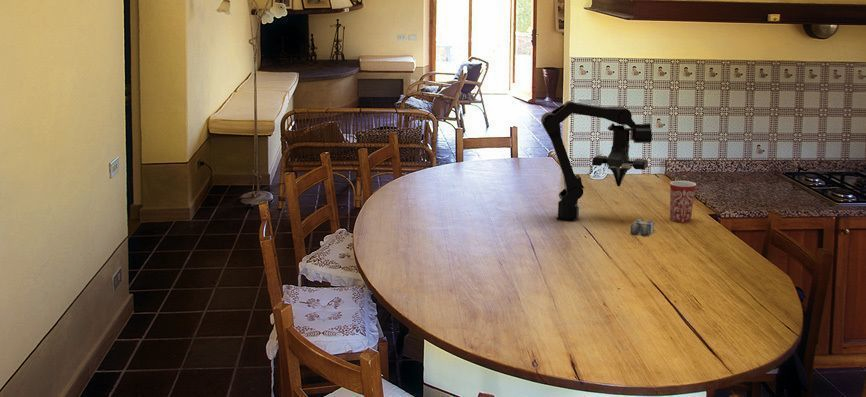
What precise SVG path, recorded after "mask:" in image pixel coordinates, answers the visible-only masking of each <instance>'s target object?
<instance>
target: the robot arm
mask: <svg viewBox="0 0 866 397" xmlns="http://www.w3.org/2000/svg"><path fill="white" fill-rule="evenodd" d="M572 114H573V115H574V114H575V115H582V116H587V117H593V118H598V119H605V120H607V121H610V122H612V123H611V124H610V125H609V126H608V127H607V130H609V131H611V132H612V146H611V148H610V150H611V151H610V153H609V154H608V156H607V155H599V154H598V155H596V156H594V157H593V158H592V160H591V163H592V164H591V166H598V167H601V166H602V165H603V164H605V165H606V164H607V166H608V167H607V169H608V170H610V171H611V172H612V174H613V176H614V179H615V183H616V186H617V187H621V185H622V183H623V181H624V178H625V175H626V174H627V173H628V171H629V170H631V169H632V168H633V169H635V170H641V171H642V170H646V169H647V168H648V165H649V161H648V159H646V158H636V159H634V160H629V159H630V155H629V152H630V151H629V150H630V146H631V145H630V140H631V141H633V144H650V143H651V142H652V140H653V133H652V129H651V128H652V127H651V124H650V123H636V122H635V121H634V120H633V117H632V116H633V115H632V113H631V111H630V110H629V109H628V108H626V107H625V106H608V107H607V106H599V105H595V104H594V105H592V104H587V103H580V102H574V101H572V100H567V101H566V102H565V103H564V104H562V105H560V106H559V107H556V108H555V109H553V110H552V111H549V112H545V113H543V114H542V116H541V117H540V123H541V125H542V126H543V127H542V128H543V129H544V130H545V132H546V134H547V136H548V137H549V139H550V141H551V144H552V147H553V149H554V152H555V156H556V158H557V161H558V164H559V167H560V170H561V173H562V178H563V179H562V180H563V186H564V188H563V189H562V191H560V192H558V196H559V199H560V200H559V201H558V207H557V217H556V218H555V219H556V220H561V221H570V222H574V221H575V220H577V219H578V218H580V217H579V216H580V215H579V214H580V206H579V205H578V203H579V202H578V201H579V199H581V198H582V197H583V194H584V189H585V186H584V185H583V182H582V181H583V180H582V178H581V176H580V174H579V173H578V174H575V173H574V170H573V167H572V164H571V162H570V158H569V156H568V153H567V150H566V147H565V144H564V142H563V139H562V132H561V123H563V122H564V121H565V120H567V118H569V117H570V116H571V115H572ZM616 124H618V125H616ZM625 125H626V126H627V127H625Z"/></svg>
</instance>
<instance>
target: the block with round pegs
mask: <svg viewBox="0 0 866 397" xmlns="http://www.w3.org/2000/svg"><path fill="white" fill-rule="evenodd" d="M640 219H641V218H636V219H635V221H634V222H632V224H637V225H639V234H641V226H642V225H648V226H649V235H652V233H654V231H653V224H654V225H655V221H653V222H651V221H648V220H646V221H647V222H646V221H645V220H643V221H640Z"/></svg>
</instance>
